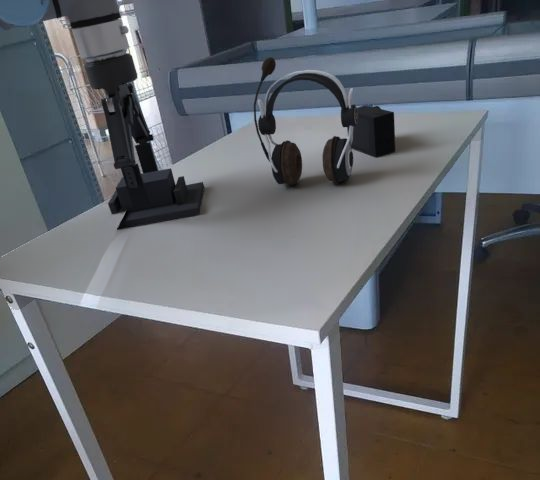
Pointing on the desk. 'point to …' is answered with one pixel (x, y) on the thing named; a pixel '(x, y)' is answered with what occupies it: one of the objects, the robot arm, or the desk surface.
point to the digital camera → (374, 131)
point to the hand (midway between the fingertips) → (147, 192)
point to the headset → (288, 154)
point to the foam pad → (150, 190)
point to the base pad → (183, 207)
